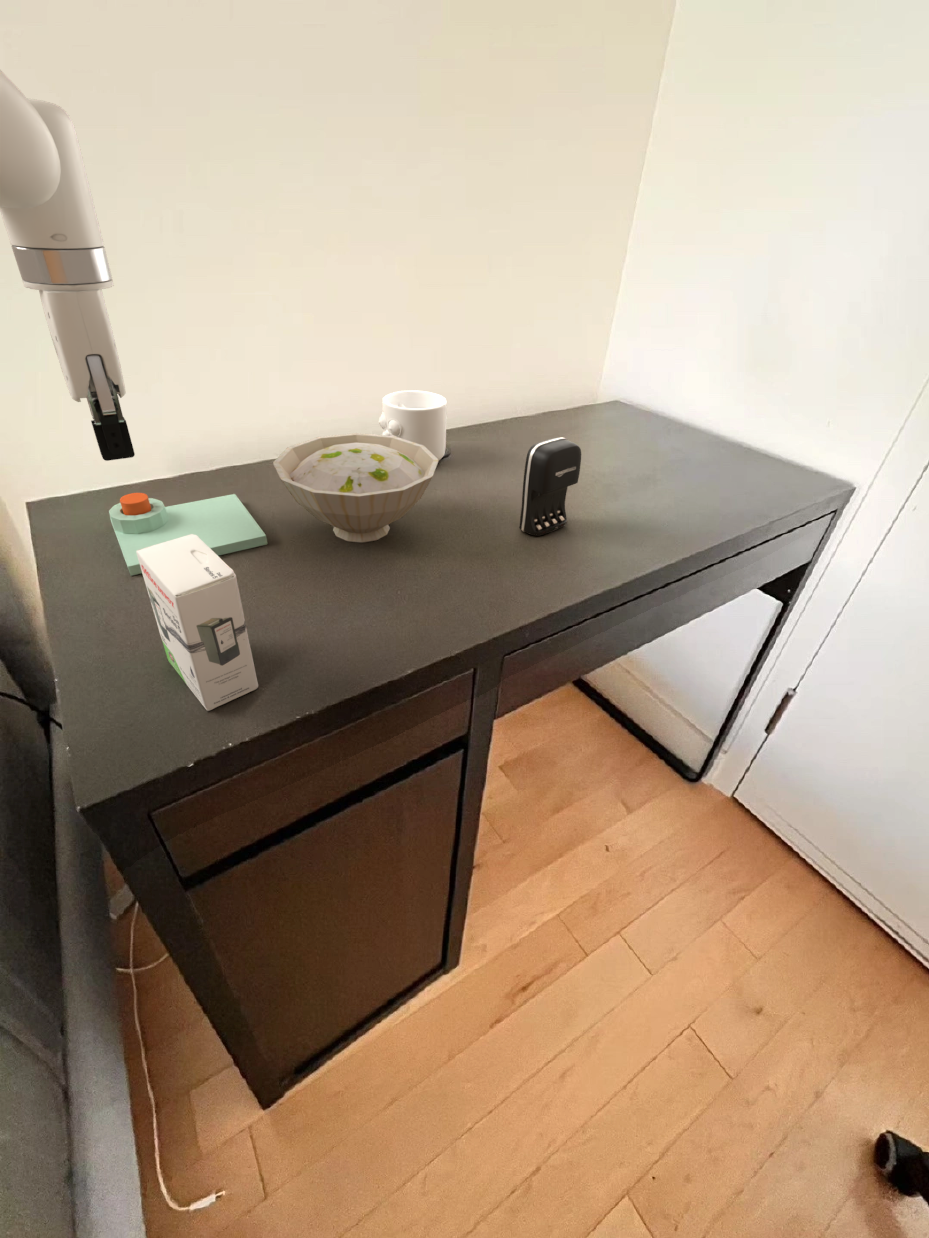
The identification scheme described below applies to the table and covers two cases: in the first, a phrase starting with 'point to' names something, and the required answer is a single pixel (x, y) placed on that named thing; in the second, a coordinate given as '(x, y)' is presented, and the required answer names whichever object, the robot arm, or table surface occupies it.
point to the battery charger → (548, 484)
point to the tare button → (135, 504)
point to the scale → (187, 527)
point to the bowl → (357, 480)
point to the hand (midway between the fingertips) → (118, 456)
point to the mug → (416, 418)
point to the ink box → (199, 618)
